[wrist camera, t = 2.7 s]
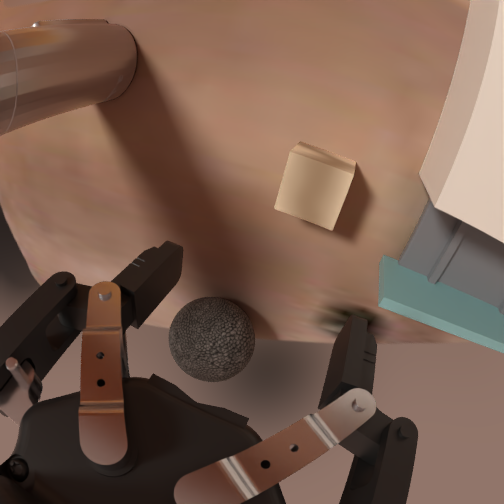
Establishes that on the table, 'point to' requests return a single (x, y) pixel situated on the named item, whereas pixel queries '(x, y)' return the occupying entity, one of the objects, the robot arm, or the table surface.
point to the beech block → (315, 184)
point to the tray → (448, 279)
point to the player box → (472, 128)
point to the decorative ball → (211, 339)
